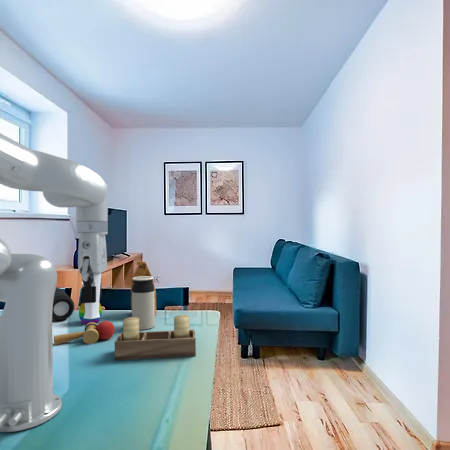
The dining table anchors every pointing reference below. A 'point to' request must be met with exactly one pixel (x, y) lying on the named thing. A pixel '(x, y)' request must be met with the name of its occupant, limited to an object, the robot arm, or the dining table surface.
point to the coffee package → (142, 271)
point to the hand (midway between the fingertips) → (92, 299)
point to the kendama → (89, 333)
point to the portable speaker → (62, 305)
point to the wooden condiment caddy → (155, 341)
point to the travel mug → (143, 301)
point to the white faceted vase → (93, 308)
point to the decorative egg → (82, 313)
